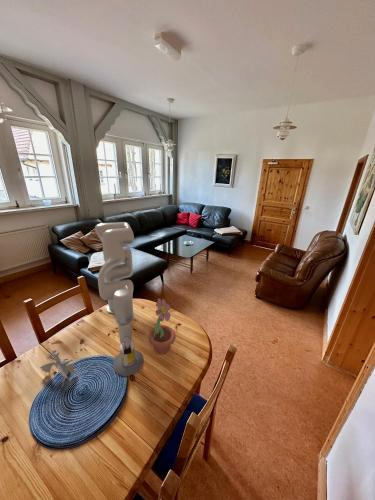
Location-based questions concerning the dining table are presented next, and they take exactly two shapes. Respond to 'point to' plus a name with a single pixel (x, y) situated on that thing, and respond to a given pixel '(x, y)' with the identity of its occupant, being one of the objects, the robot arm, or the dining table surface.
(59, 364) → the fairy figurine
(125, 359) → the supplement bottle
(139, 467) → the dining table surface
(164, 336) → the decorative flower
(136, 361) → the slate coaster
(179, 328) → the dining table surface
